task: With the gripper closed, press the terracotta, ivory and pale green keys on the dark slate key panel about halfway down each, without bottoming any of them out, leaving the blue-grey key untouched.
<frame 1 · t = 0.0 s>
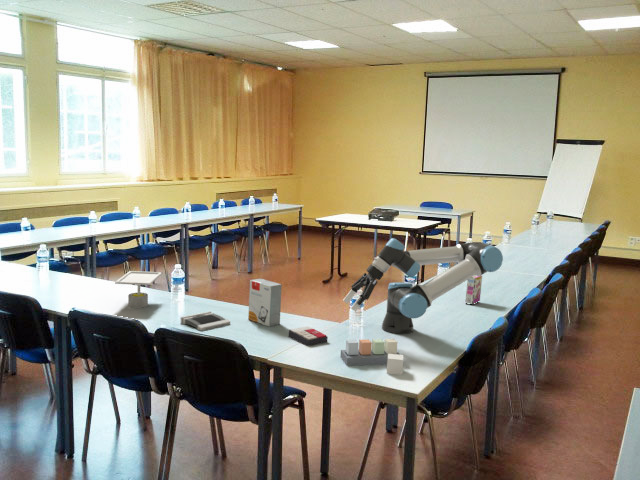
hand: (348, 306, 271), 15 cm above the table, tool tilted 35°, fingers open, 13 cm apart
pale grey cube: (394, 371, 235), on the table
hard drive box: (264, 322, 294), on the table
key panel: (370, 360, 246), on the table
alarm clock: (205, 325, 286), on the table
key terracotta: (365, 347, 245), point 6 cm above the table, slide at 0.0 cm
calculator: (307, 340, 270), on the table
key ivory: (390, 346, 247), point 6 cm above the table, slide at 0.0 cm
key bluegrey: (351, 347, 244), point 6 cm above the table, slide at 0.0 cm
key green: (378, 346, 246), point 6 cm above the table, slide at 0.0 cm
candy bar box: (472, 303, 354), on the table
solar panel model: (139, 305, 314), on the table
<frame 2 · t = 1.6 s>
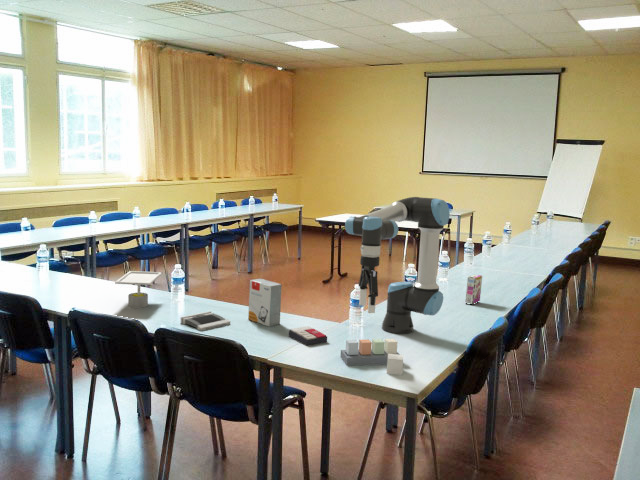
hand: (366, 308, 243), 22 cm above the table, tool pointing down, fingers open, 12 cm apart
nothing on the table moved.
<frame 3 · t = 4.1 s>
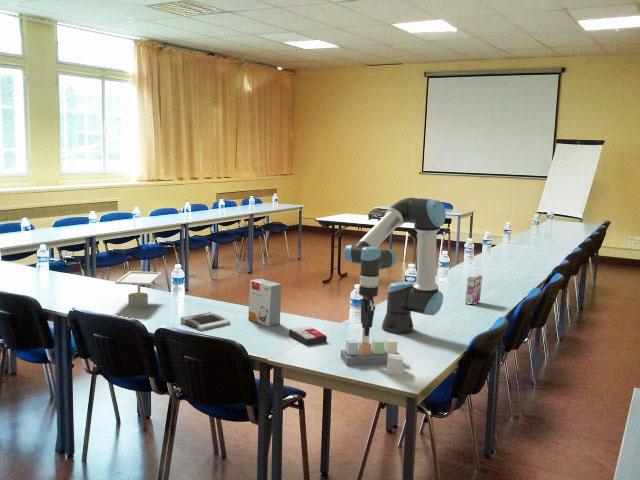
hand: (365, 342, 244), 8 cm above the table, tool pointing down, fingers closed
key terracotta: (364, 349, 245), point 5 cm above the table, slide at 0.9 cm, touching gripper
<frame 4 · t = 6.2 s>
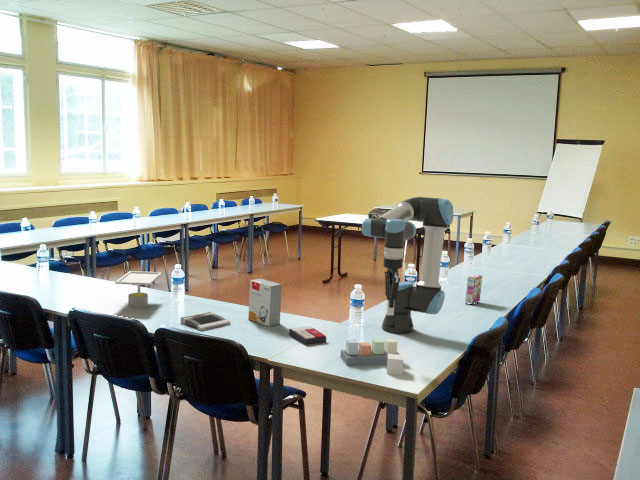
hand: (389, 314, 245), 19 cm above the table, tool pointing down, fingers closed
key terracotta: (364, 350, 245), point 4 cm above the table, slide at 1.3 cm
everything else where it was.
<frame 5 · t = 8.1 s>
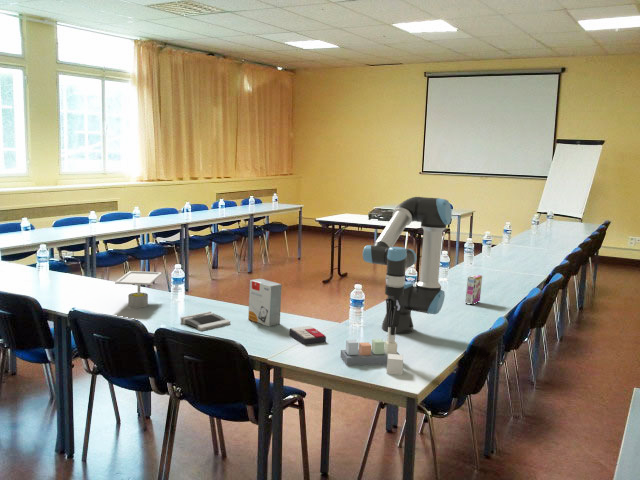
hand: (390, 341, 247), 8 cm above the table, tool pointing down, fingers closed
key ivory: (390, 348, 247), point 5 cm above the table, slide at 0.8 cm, touching gripper
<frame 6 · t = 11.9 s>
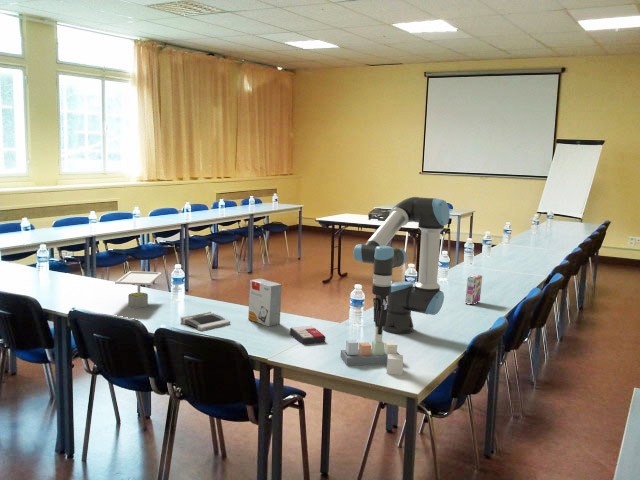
hand: (378, 341, 246), 8 cm above the table, tool pointing down, fingers closed
key ivory: (390, 349, 247), point 4 cm above the table, slide at 1.3 cm
key green: (377, 347, 246), point 5 cm above the table, slide at 0.5 cm, touching gripper
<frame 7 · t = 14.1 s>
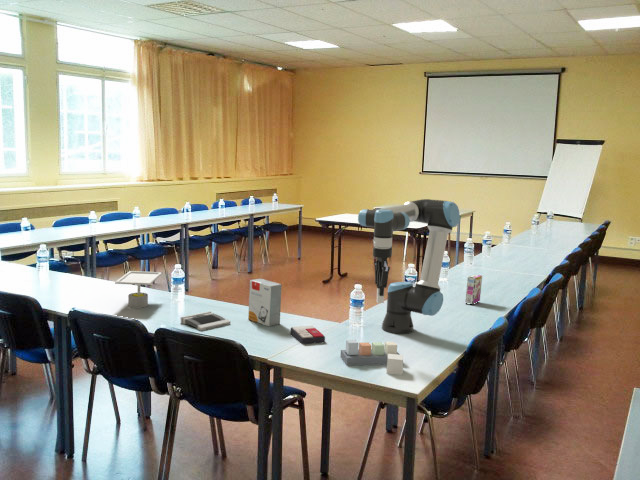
hand: (380, 302, 253), 22 cm above the table, tool pointing down, fingers closed
key green: (377, 349, 246), point 4 cm above the table, slide at 1.3 cm
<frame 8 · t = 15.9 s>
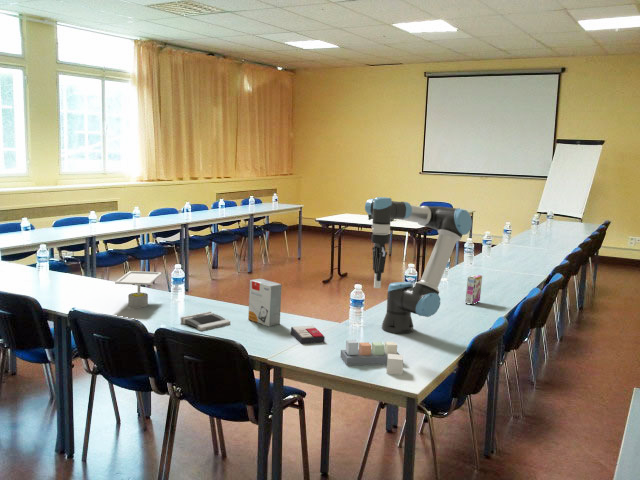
hand: (377, 287, 260), 26 cm above the table, tool pointing down, fingers closed
at the end: key terracotta slide at 1.3 cm; key ivory slide at 1.3 cm; key green slide at 1.3 cm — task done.
